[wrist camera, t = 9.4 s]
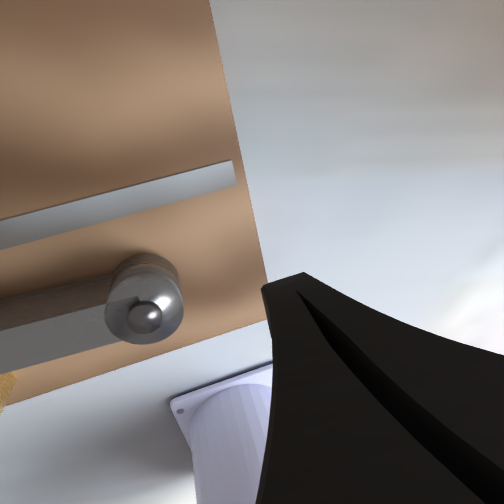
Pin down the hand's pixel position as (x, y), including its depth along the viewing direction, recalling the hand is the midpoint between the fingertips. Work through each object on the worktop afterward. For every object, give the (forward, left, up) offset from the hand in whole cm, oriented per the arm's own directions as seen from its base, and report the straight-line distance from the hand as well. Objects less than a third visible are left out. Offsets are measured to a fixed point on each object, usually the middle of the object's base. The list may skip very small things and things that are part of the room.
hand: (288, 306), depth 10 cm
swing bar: (-2, +11, -7) cm, 14 cm away
